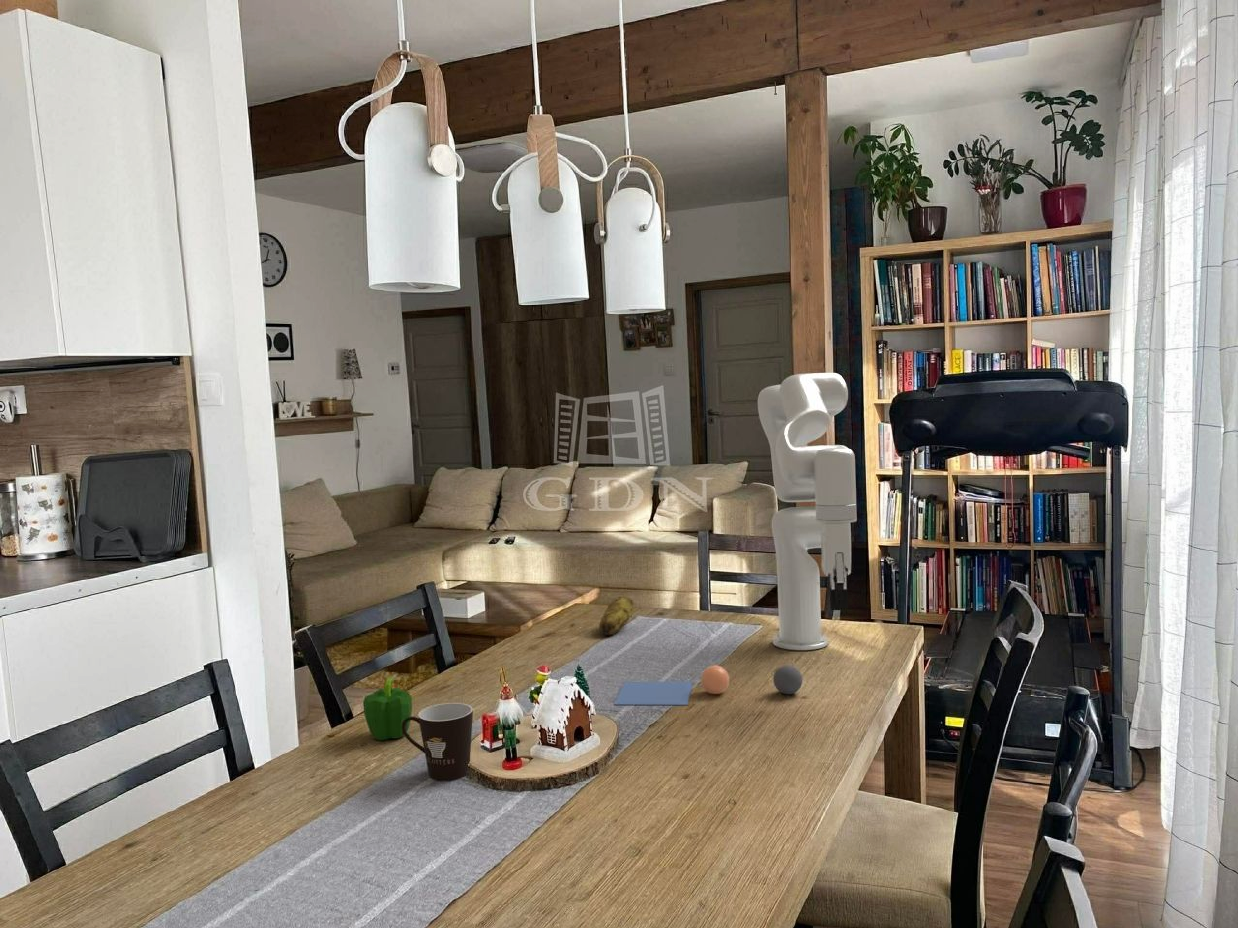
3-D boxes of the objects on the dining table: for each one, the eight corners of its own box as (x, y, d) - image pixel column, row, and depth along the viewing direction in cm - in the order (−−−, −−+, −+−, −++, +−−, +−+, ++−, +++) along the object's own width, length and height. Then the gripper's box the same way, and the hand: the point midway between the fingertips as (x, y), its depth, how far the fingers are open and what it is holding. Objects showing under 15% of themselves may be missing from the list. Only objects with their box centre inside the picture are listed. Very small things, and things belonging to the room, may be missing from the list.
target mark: (624, 682, 193) (624, 681, 193) (692, 682, 191) (692, 681, 191) (614, 704, 179) (614, 703, 179) (687, 705, 177) (687, 704, 177)
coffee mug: (487, 770, 150) (484, 709, 149) (443, 788, 144) (439, 725, 143) (443, 753, 158) (440, 696, 157) (400, 770, 152) (396, 710, 151)
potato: (586, 634, 233) (584, 602, 233) (621, 623, 243) (620, 593, 242) (610, 639, 228) (609, 606, 227) (645, 628, 237) (644, 596, 237)
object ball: (702, 689, 186) (701, 661, 186) (730, 689, 185) (729, 661, 185) (700, 697, 181) (699, 670, 180) (729, 698, 180) (728, 669, 180)
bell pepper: (398, 746, 162) (394, 689, 162) (357, 742, 165) (353, 687, 164) (423, 729, 170) (419, 675, 170) (383, 726, 173) (380, 673, 172)
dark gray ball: (773, 689, 184) (772, 661, 184) (802, 689, 183) (801, 661, 183) (774, 698, 179) (773, 669, 178) (803, 698, 178) (802, 669, 177)
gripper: (813, 509, 185) (816, 601, 186) (818, 519, 170) (821, 618, 171) (852, 508, 184) (855, 600, 185) (860, 517, 169) (863, 618, 170)
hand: (839, 608), depth 178 cm, fingers closed
